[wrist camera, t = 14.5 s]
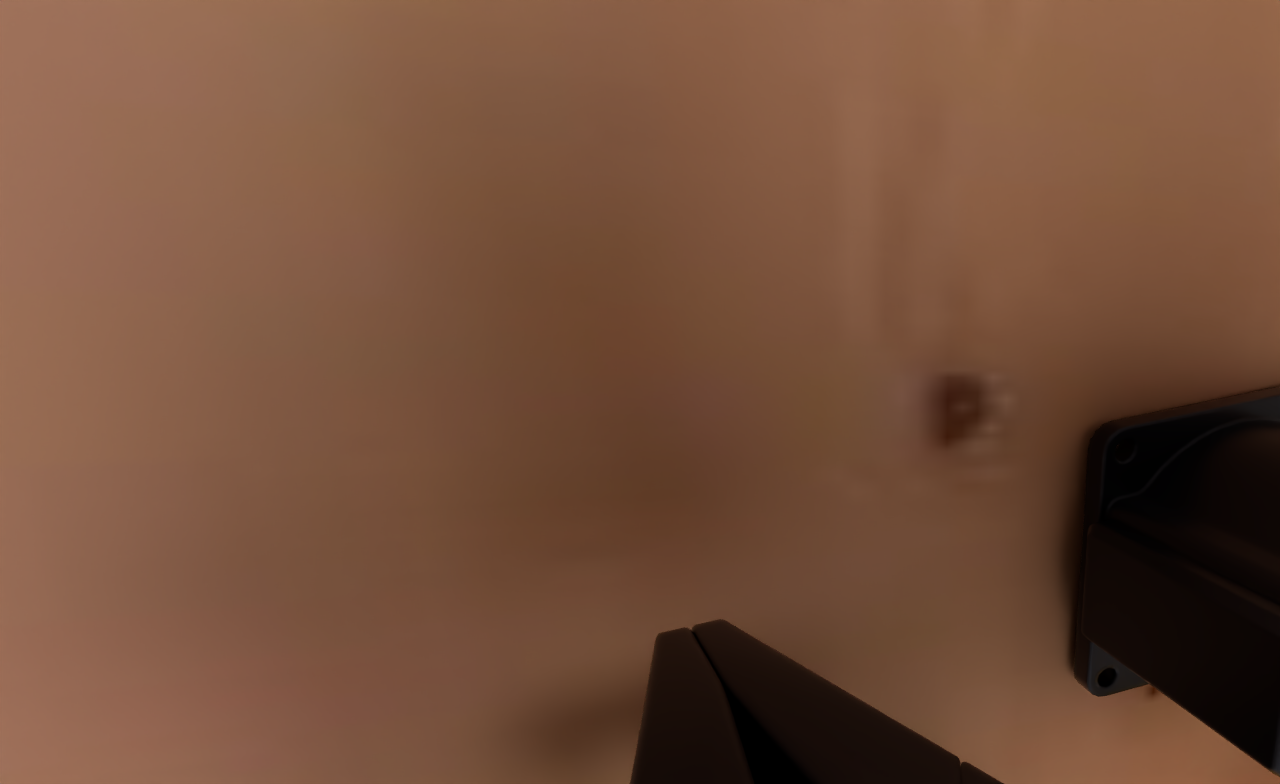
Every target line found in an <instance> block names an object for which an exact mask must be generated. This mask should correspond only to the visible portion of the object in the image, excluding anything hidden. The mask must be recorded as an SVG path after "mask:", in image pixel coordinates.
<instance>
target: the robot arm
mask: <svg viewBox="0 0 1280 784" xmlns="http://www.w3.org/2000/svg"><path fill="white" fill-rule="evenodd" d="M1118 444H1119V446H1118V448H1117V449H1116V447H1117V445H1118ZM1115 450H1116V451H1115ZM1074 676H1075V679H1076V680H1077V682H1078V683H1079V684H1081V685H1082V686H1083V687H1084V688H1086V689H1087V690H1088V691H1089V692H1090V693H1092V694H1093V695H1096V696H1098V697H1099V696H1107V695H1111V694H1115V693H1118V692H1122V691H1125V690H1129V689H1132V688H1136V687H1140V686H1143V685H1147V684H1151V685H1152V686H1153V687H1155V688H1156V689H1157V690H1159V691H1160V692H1162V693H1163V694H1164V695H1166V696H1167V697H1168V698H1170V699H1171V700H1173V701H1174V702H1175V703H1177V704H1178V705H1180V706H1181V707H1182V708H1184V709H1185V710H1186V711H1188V712H1189V713H1191V714H1192V715H1193V716H1195V717H1196V718H1197V719H1199V720H1200V721H1202V722H1203V723H1204V724H1206V725H1207V726H1208V727H1210V728H1211V729H1213V730H1214V731H1215V732H1217V733H1218V734H1219V735H1221V736H1222V737H1224V738H1225V739H1226V740H1228V741H1229V742H1231V743H1232V744H1233V745H1235V746H1236V747H1237V748H1239V749H1240V750H1242V751H1243V752H1244V753H1246V754H1247V755H1248V756H1250V757H1251V758H1253V759H1254V760H1255V761H1257V762H1258V763H1259V764H1261V765H1262V766H1264V767H1265V768H1266V769H1268V770H1269V771H1270V772H1272V773H1273V774H1275V775H1277V776H1279V777H1280V386H1279V387H1274V388H1269V389H1265V390H1260V391H1255V392H1250V393H1245V394H1240V395H1236V396H1231V397H1226V398H1221V399H1216V400H1211V401H1206V402H1202V403H1197V404H1192V405H1187V406H1182V407H1177V408H1172V409H1168V410H1163V411H1158V412H1153V413H1148V414H1143V415H1138V416H1134V417H1129V418H1124V419H1119V420H1114V421H1110V422H1108V423H1105V424H1103V425H1102V426H1100V427H1099V428H1098V429H1097V430H1096V431H1095V433H1094V434H1093V436H1092V437H1091V439H1090V443H1089V447H1088V460H1087V475H1086V491H1085V506H1084V521H1083V537H1082V552H1081V568H1080V583H1079V598H1078V614H1077V629H1076V645H1075V660H1074ZM630 784H1003V783H1002V782H1000V781H998V780H996V779H995V778H993V777H991V776H990V775H988V774H986V773H985V772H983V771H981V770H979V769H978V768H976V767H974V766H973V765H971V764H969V763H967V762H962V763H961V765H960V760H959V758H958V757H957V756H955V755H953V754H952V753H950V752H948V751H947V750H945V749H943V748H942V747H940V746H938V745H936V744H935V743H933V742H931V741H930V740H928V739H926V738H924V737H923V736H921V735H919V734H918V733H916V732H914V731H913V730H911V729H909V728H907V727H906V726H904V725H902V724H901V723H899V722H897V721H896V720H894V719H892V718H890V717H889V716H887V715H885V714H884V713H882V712H880V711H879V710H877V709H875V708H873V707H872V706H870V705H868V704H867V703H865V702H863V701H862V700H860V699H858V698H856V697H855V696H853V695H851V694H850V693H848V692H846V691H845V690H843V689H841V688H839V687H838V686H836V685H834V684H833V683H831V682H829V681H828V680H826V679H824V678H822V677H821V676H819V675H817V674H816V673H814V672H812V671H811V670H809V669H807V668H805V667H804V666H802V665H800V664H799V663H797V662H795V661H794V660H792V659H790V658H788V657H787V656H785V655H783V654H782V653H780V652H778V651H777V650H775V649H773V648H771V647H770V646H768V645H766V644H765V643H763V642H761V641H760V640H758V639H756V638H754V637H753V636H751V635H749V634H748V633H746V632H744V631H743V630H741V629H739V628H737V627H736V626H734V625H732V624H731V623H729V622H727V621H725V620H721V619H720V620H715V621H710V622H706V623H702V624H697V625H694V626H693V627H692V629H691V630H690V629H689V628H680V629H675V630H671V631H666V632H662V633H659V634H658V635H657V637H656V640H655V646H654V652H653V657H652V663H651V669H650V674H649V680H648V686H647V691H646V697H645V703H644V708H643V714H642V720H641V725H640V731H639V736H638V742H637V748H636V753H635V759H634V765H633V770H632V776H631V782H630Z"/></svg>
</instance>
